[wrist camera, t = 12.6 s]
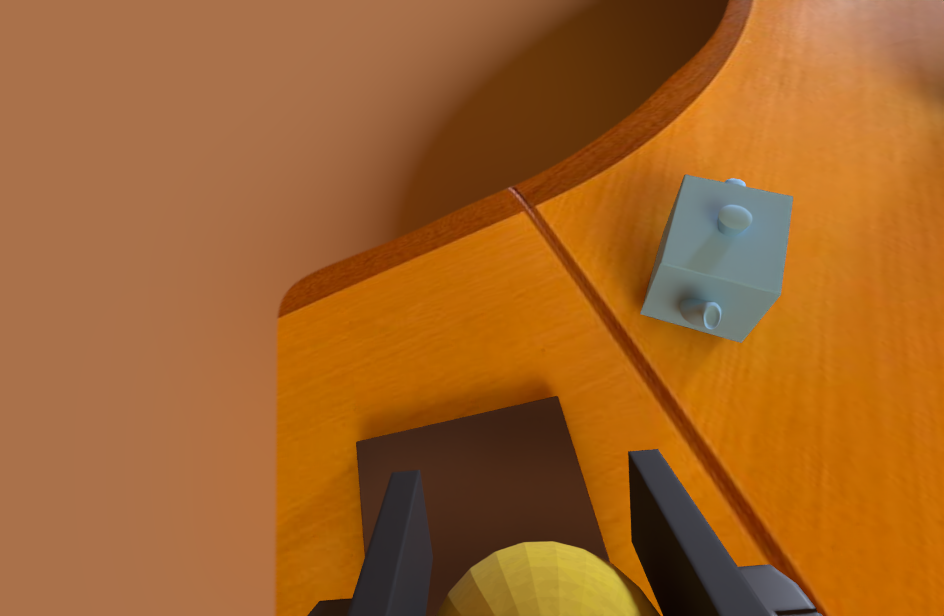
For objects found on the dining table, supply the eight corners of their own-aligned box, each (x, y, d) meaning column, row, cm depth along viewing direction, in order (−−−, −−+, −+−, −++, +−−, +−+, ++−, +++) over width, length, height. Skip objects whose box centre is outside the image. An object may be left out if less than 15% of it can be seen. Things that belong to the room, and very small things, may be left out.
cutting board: (680, 805, 21) (690, 818, 19) (398, 876, 20) (390, 894, 19) (556, 404, 30) (557, 395, 29) (362, 448, 30) (355, 441, 28)
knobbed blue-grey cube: (727, 397, 29) (784, 339, 23) (625, 365, 31) (651, 302, 24) (753, 245, 35) (805, 163, 28) (664, 225, 36) (694, 143, 30)
